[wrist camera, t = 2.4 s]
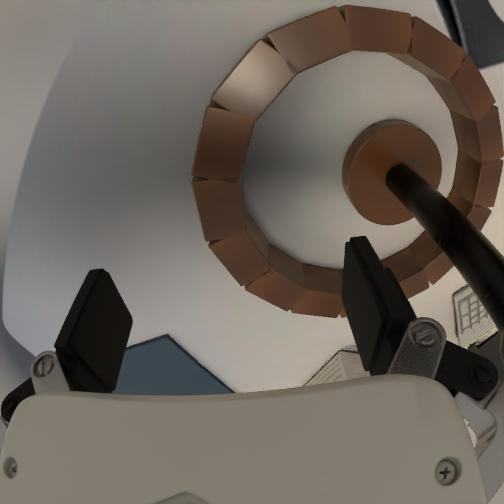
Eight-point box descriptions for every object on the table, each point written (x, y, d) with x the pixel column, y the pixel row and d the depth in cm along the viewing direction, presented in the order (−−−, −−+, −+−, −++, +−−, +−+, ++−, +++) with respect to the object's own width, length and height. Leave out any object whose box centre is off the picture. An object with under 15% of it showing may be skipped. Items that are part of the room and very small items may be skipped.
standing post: (341, 120, 16) (556, 335, 3) (436, 121, 16) (631, 273, 3) (340, 221, 20) (441, 450, 8) (425, 211, 20) (549, 387, 7)
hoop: (170, 27, 12) (159, 22, 10) (484, 40, 12) (511, 44, 9) (230, 306, 24) (230, 334, 22) (450, 270, 24) (465, 290, 22)
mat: (68, 365, 30) (67, 367, 29) (167, 334, 26) (166, 337, 26) (167, 428, 41) (167, 430, 40) (260, 411, 37) (260, 414, 37)
